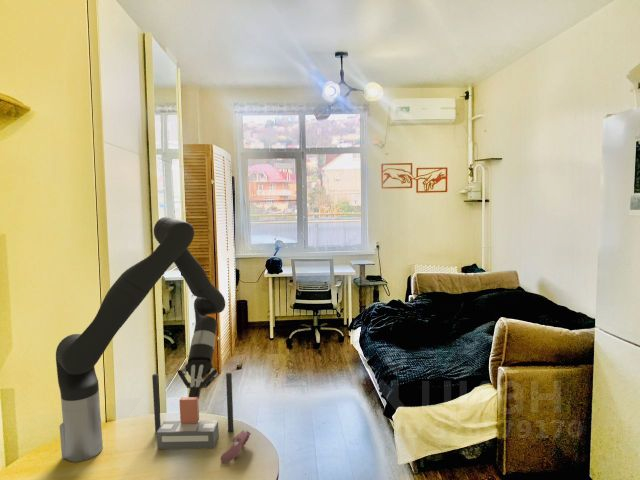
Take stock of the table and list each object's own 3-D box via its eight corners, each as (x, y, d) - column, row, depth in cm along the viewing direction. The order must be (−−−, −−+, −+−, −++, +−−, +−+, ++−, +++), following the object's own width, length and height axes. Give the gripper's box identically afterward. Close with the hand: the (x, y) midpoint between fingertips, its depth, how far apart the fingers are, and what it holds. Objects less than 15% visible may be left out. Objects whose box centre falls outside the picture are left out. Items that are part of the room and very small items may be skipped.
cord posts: (154, 433, 132) (151, 376, 130) (156, 430, 133) (153, 373, 131) (232, 432, 132) (230, 374, 130) (233, 429, 133) (232, 372, 132)
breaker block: (157, 449, 123) (156, 432, 123) (164, 437, 130) (163, 421, 129) (213, 448, 124) (213, 431, 123) (218, 436, 130) (218, 420, 129)
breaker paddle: (180, 422, 127) (179, 399, 126) (182, 420, 129) (181, 397, 128) (197, 422, 127) (196, 399, 127) (199, 419, 129) (198, 397, 128)
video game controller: (232, 470, 116) (243, 449, 115) (218, 461, 117) (228, 440, 115) (246, 449, 126) (255, 429, 124) (232, 441, 126) (242, 421, 125)
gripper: (179, 342, 140) (168, 397, 129) (220, 342, 140) (212, 396, 129) (184, 352, 146) (174, 405, 135) (224, 352, 146) (217, 405, 135)
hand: (193, 401), depth 132 cm, fingers closed
